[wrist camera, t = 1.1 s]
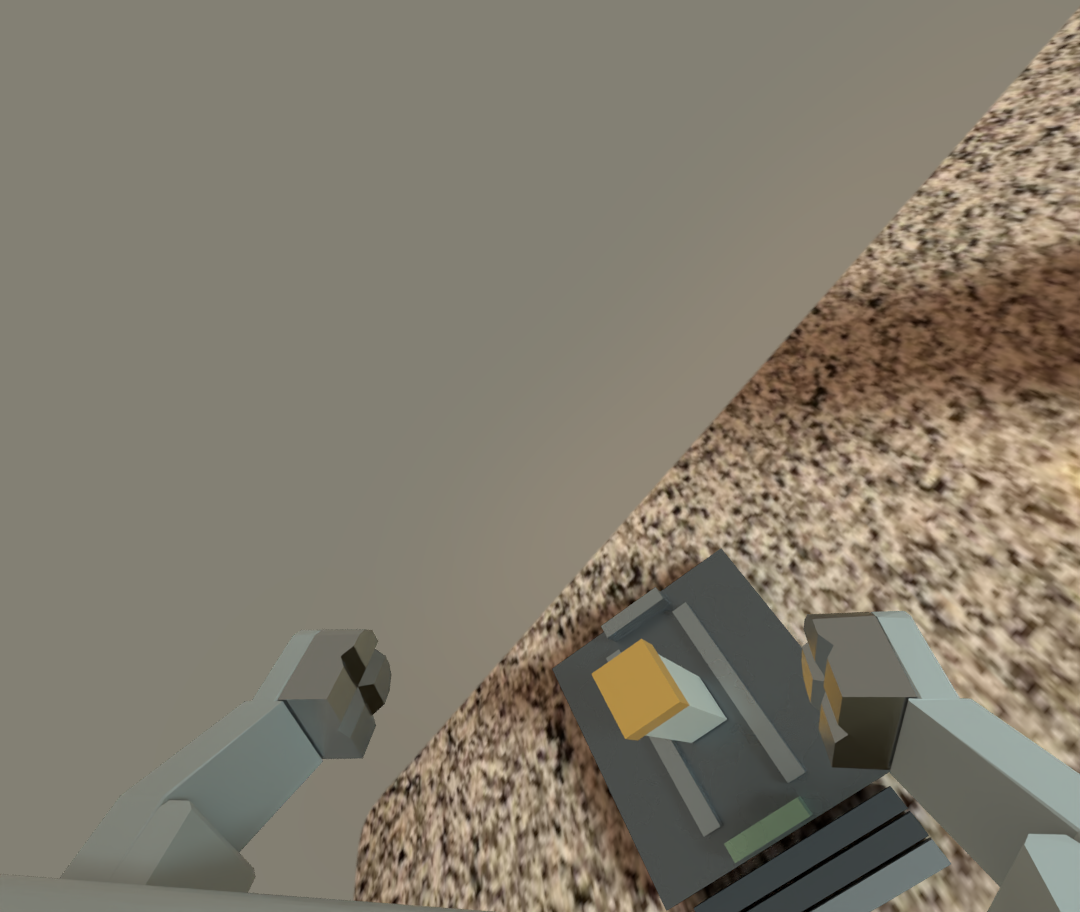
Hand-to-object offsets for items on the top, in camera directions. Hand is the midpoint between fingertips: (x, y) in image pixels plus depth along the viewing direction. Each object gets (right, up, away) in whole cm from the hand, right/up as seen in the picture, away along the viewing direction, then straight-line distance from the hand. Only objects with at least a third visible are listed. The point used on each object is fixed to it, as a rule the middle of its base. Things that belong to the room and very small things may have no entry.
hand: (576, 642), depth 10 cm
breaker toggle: (+10, -13, +26) cm, 31 cm away
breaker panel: (+11, -15, +29) cm, 34 cm away
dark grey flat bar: (+16, -22, +22) cm, 35 cm away
